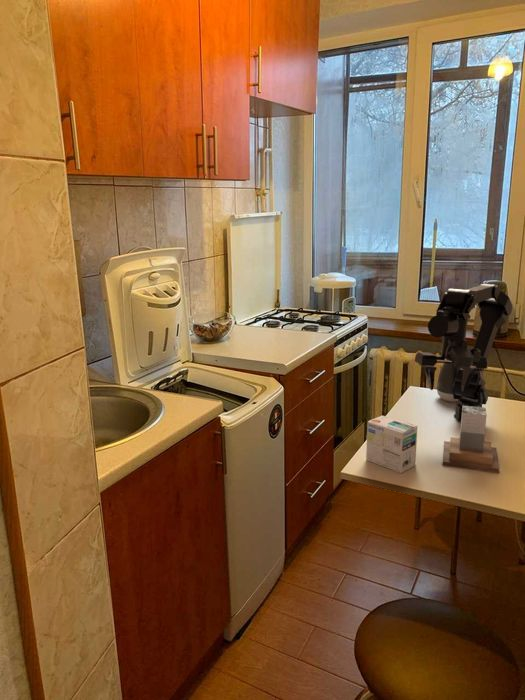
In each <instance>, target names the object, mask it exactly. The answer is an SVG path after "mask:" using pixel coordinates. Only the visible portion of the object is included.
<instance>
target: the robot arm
mask: <svg viewBox="0 0 525 700" xmlns="http://www.w3.org/2000/svg"><path fill="white" fill-rule="evenodd" d="M476 304H477V306H478V308H479V313H478V314H479V318H480V320H481V324H480V327H479V330H478V333H477V335H476V339H475V341H474V344H473V348H468V340H466V336H467V329H468V323H469V322H468V321H469V320H470V319H471V315H470V313H471V312H472V310H473V309H475V308H476ZM512 312H513V304H512V301H511V299H510V296H508V295H507V294H506V293H505V292H503V291H502V290H501V287H500V286H499V285H497V284H493V283H480V285H477V286H474V287H470V288H466V289H460V288H448V289H447V290H446V292H445V293H444V294H443V297H442V298H441V301H440V303H439V304H438V307H437V309H436V313H435V314H436V315H435V316H432V317H431V318H430V319H429V321H428V323H427V331H428V333H429V334H430V335H431V336H432V337H434V338H440V342H441V341H442V344H441V345H442V346H441V351H439V352H438V355H436V354H434V353H431V352H428V351H427V352H425V351H418V352H417V353H416V354H415V356H414V357H415V358H414V362H416V363H417V364H418V365H419V366H421V367H422V368H423V372H424V374H425V376H426V379H427V380H426V381H427V383H428V388H429V390H430V391H433V390H434V388H435V373H436V371H437V368H438V367H437V366H436V365H437V364H443V363H451V364H453V365H454V366H456V367H461V366H463V369H459V370H458V372H457V375H456V378H455V380H454V382H453V384H452V391H453V399H458V402H456V404H455V411H454V413H455V414H453V417H454V418H456V419H457V420H458V421H459V422H460V423H461V418H462V406H473V407H483V405H487V402H488V400H489V392H488V391H487V389H486V386H485V385H486V380H485V376H484V370H485V369H488V368H489V367H488V366H489V359H488V358H489V355H490V353H491V351H492V346H493V343H494V341H495V339H496V335H497V333H498V330H499V328H502V326H503V325H504V324H506V323H507V321H508V319H509V317H510V315H511V314H512Z"/></svg>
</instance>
